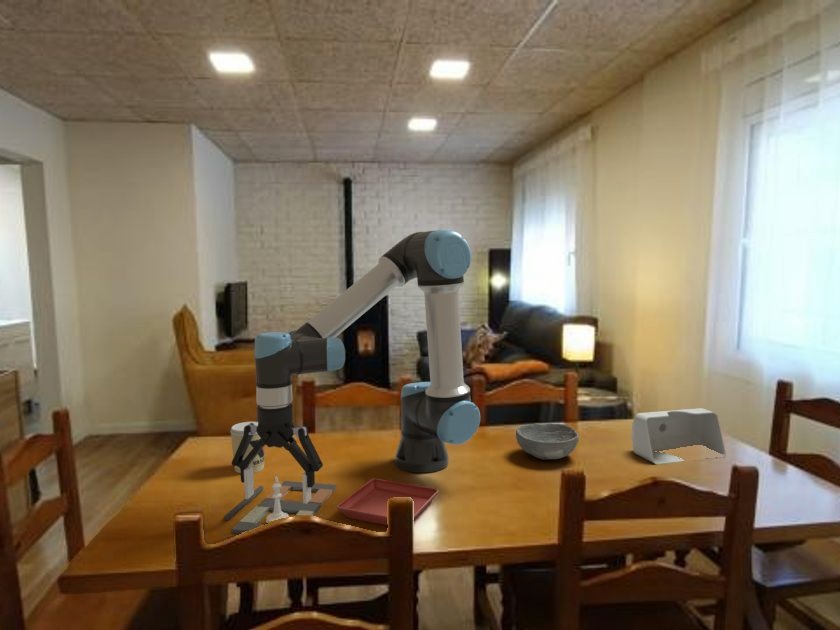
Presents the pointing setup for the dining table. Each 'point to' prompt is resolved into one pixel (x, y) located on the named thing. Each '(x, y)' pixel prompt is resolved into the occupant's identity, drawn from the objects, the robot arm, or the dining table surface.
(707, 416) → the grey plastic housing
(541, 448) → the bowl
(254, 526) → the panel
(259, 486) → the rod
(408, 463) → the robot arm
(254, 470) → the coffee cup
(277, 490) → the chess piece
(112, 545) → the dining table surface
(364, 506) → the plant saucer
